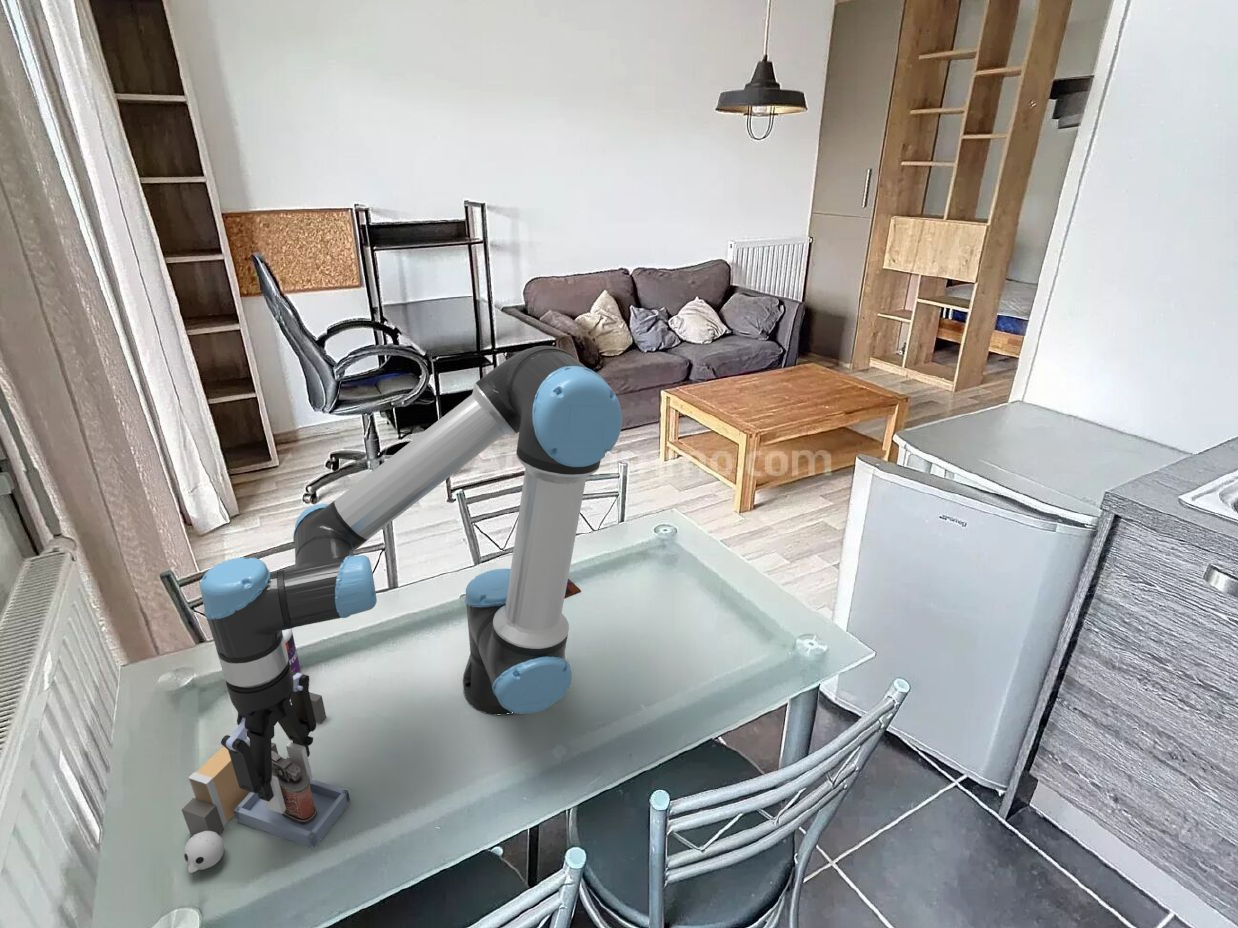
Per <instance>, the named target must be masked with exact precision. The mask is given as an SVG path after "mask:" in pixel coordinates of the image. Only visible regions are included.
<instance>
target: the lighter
mask: <svg viewBox="0 0 1238 928" xmlns="http://www.w3.org/2000/svg"><path fill="white" fill-rule="evenodd" d="M278 754H279V753H278ZM278 754H277V753H275V752H273V751H272V776H275V777H277V778H278V781H279V785H280V789H281V792H282V796H283V800H284V803H285V807H286V810H285V811H284V812H283V814H281V813H280V814H281V815H283V816H284V817H285V818H287V819H289V820H291V821H293V822H296V823H298V824H301V825H307V824H309V823H311V822H312V821H314V819H315V818H316V816H317V809H316V807H315V806H314V802H313V798H312V793H311V789H310V783H311V781H310V777H309V776H308V775H307V774H306V772H305V771H304V770H303V769H301V768H300V767H299V766H297V765H296V764H294V763H293V761H292V760H291V759H290V758H289V756H288V757H286V758H284V757H283V756H281V755H280V754H279V755H278Z"/></svg>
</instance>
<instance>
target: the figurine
mask: <svg viewBox="0 0 1238 928" xmlns="http://www.w3.org/2000/svg"><path fill="white" fill-rule="evenodd" d="M224 852H225V841H224V839H223V838H222V836H221V834H220V835H219V834H218V833H216V832H213V831H203V832H200V833H197V834H195V835H192V837H191V838H189V839H188V841H187V842H186V844H185V846H184V848H183V859H184V861H185V862H186V865H188V868H187V871H188V873H191V874H192V873H195V872H197V871H199V870H200V871H201V870H202V871H204V870H206V869H209V868H212V867H214V866H215V865H216V864H217V863H218V862H219V861H220V860H221V859H222V857H223V854H224Z"/></svg>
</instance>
